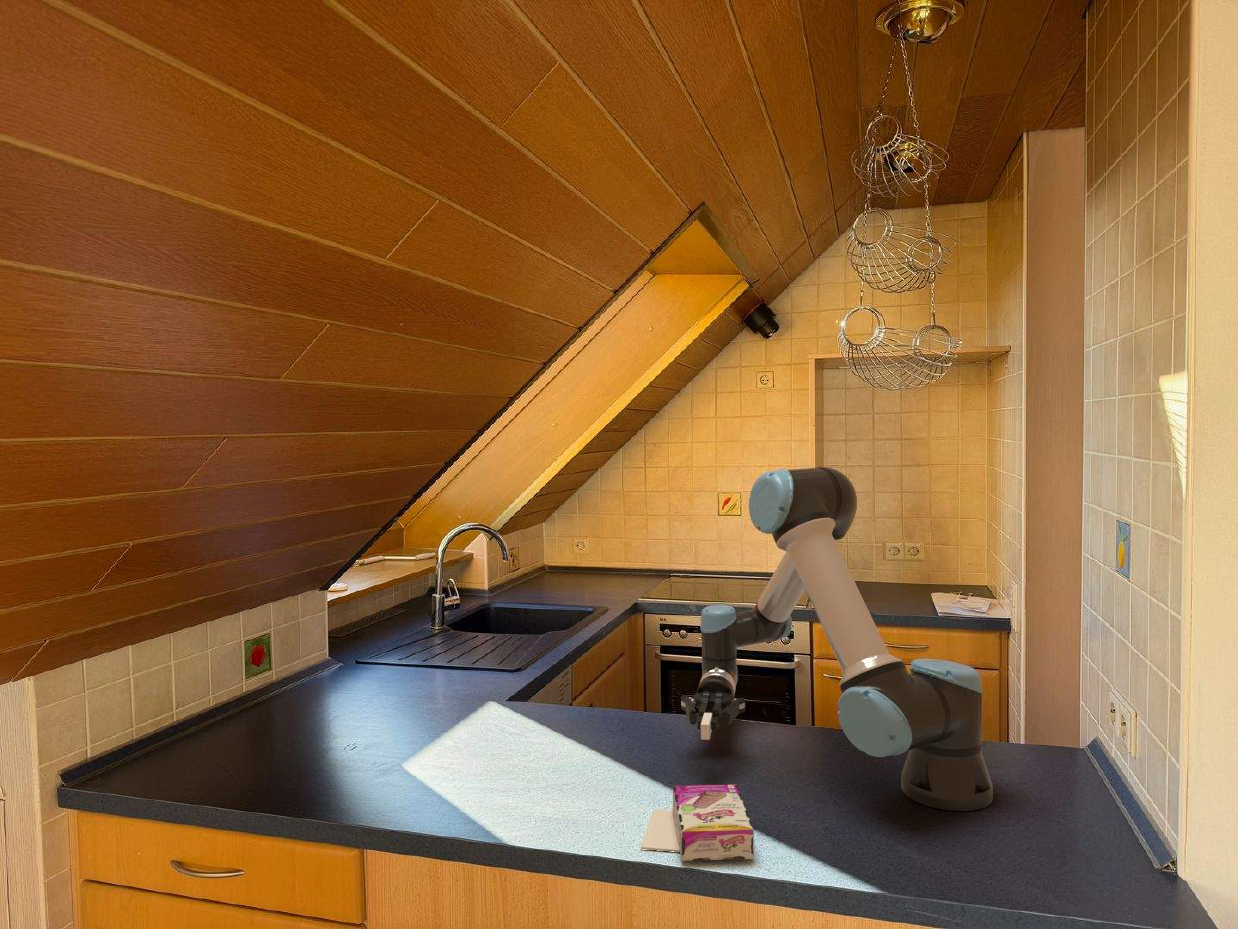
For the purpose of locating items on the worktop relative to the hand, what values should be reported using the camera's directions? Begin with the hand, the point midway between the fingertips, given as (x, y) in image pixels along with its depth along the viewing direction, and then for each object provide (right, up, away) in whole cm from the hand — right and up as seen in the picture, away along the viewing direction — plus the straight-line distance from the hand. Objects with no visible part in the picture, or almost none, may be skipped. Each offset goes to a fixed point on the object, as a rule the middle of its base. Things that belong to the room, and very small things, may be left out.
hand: (705, 732), depth 151 cm
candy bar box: (-1, -8, -8) cm, 12 cm away
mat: (-3, -12, -15) cm, 19 cm away
